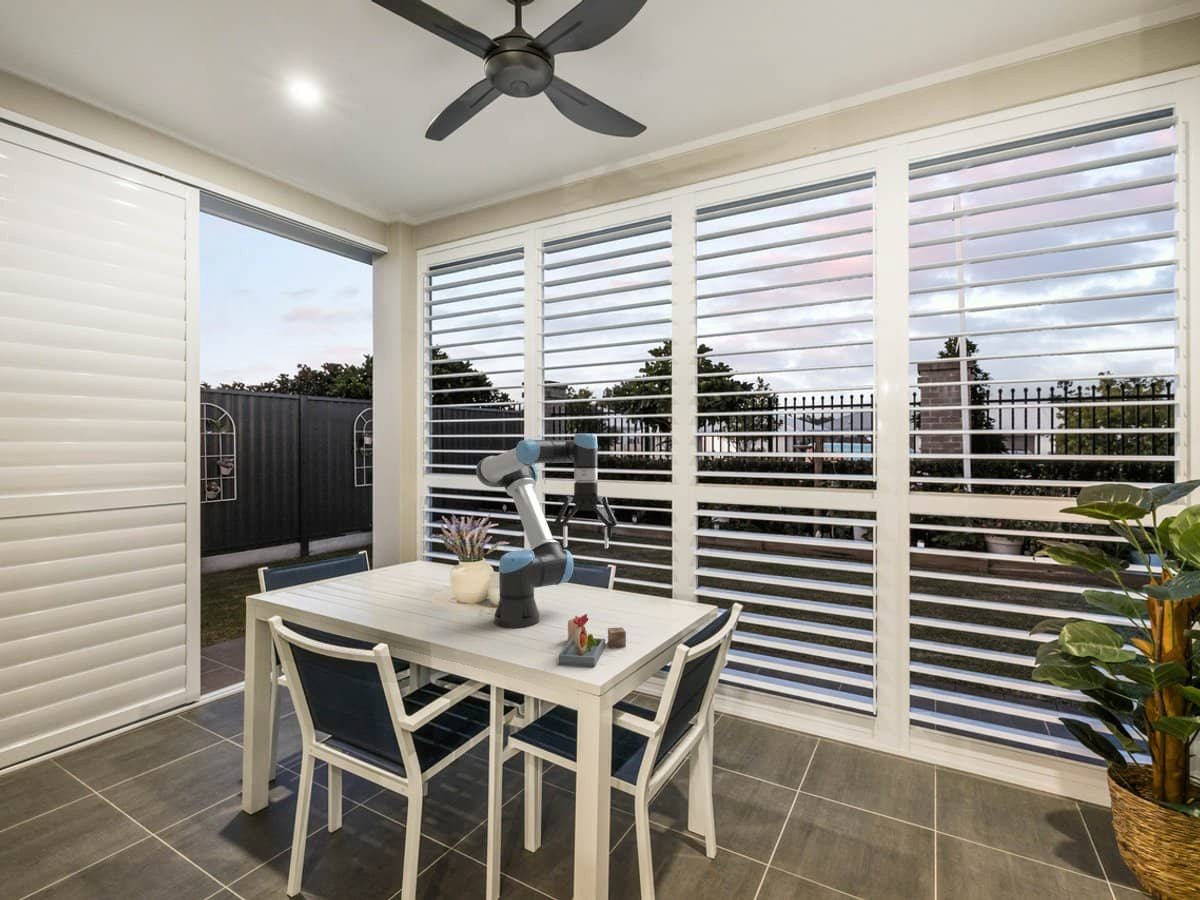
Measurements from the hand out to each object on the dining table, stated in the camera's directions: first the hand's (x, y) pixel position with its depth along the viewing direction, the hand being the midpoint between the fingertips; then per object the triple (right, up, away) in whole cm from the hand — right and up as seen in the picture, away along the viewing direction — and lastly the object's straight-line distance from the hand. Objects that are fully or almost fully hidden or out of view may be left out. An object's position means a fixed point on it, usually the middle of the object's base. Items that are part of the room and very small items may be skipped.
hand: (585, 547), depth 191 cm
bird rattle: (0, -26, -23) cm, 35 cm away
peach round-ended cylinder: (-3, -27, -11) cm, 29 cm away
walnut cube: (+10, -27, -14) cm, 32 cm away
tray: (0, -27, -23) cm, 35 cm away
